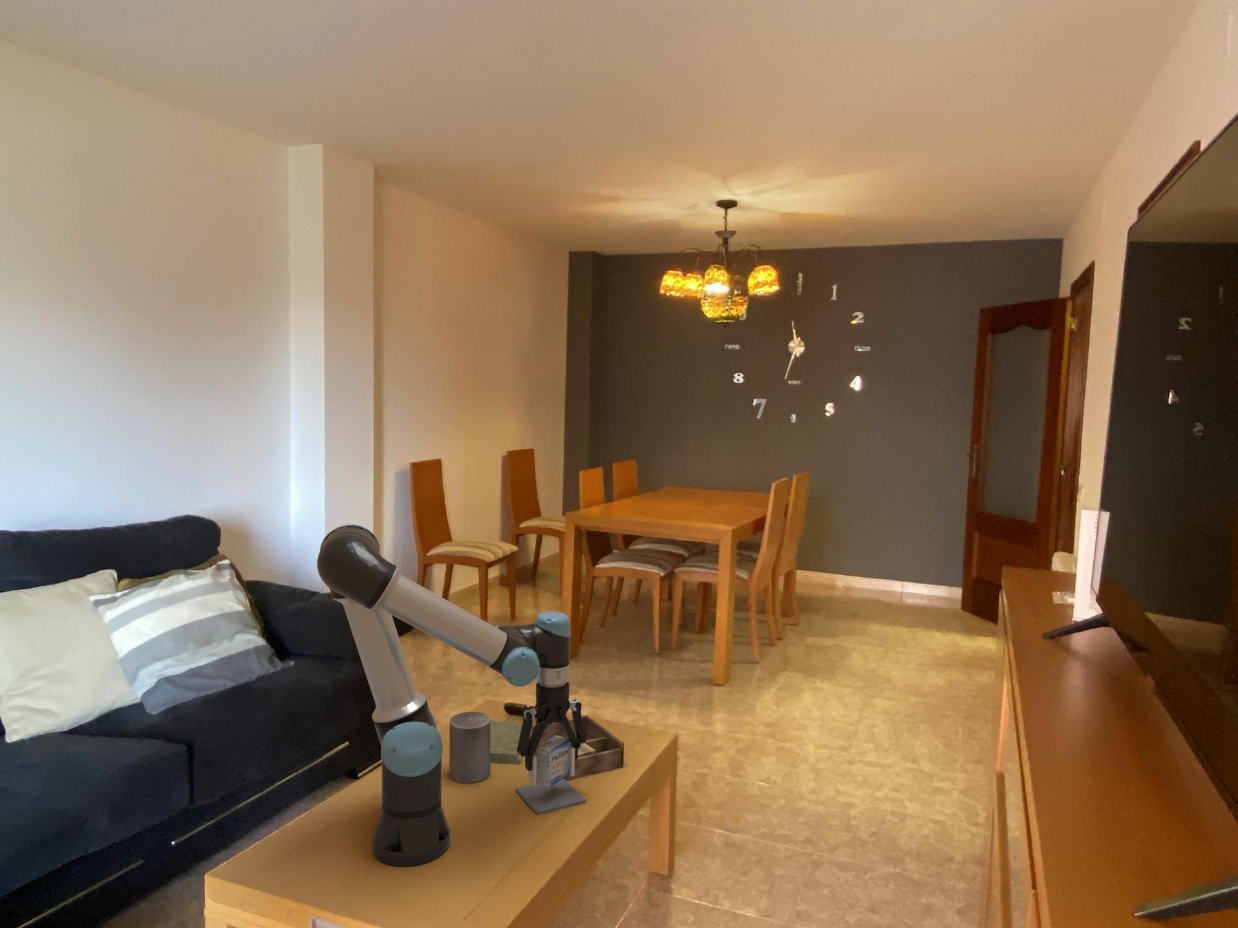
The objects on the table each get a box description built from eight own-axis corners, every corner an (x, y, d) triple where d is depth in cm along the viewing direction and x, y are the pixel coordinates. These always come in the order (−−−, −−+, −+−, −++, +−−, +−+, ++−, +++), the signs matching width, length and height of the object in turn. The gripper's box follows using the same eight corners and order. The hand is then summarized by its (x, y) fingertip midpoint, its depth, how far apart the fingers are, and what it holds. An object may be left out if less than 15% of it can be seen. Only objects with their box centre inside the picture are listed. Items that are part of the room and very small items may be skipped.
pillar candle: (460, 762, 206) (460, 703, 204) (497, 768, 203) (497, 708, 202) (441, 780, 196) (441, 719, 195) (480, 786, 194) (480, 724, 192)
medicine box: (549, 788, 185) (550, 750, 184) (533, 783, 187) (533, 746, 186) (569, 774, 192) (570, 738, 191) (553, 769, 194) (554, 733, 193)
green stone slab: (450, 761, 207) (451, 748, 207) (473, 729, 227) (473, 716, 227) (524, 767, 205) (525, 753, 205) (541, 734, 225) (541, 721, 225)
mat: (537, 814, 182) (537, 812, 182) (515, 790, 192) (515, 788, 192) (585, 802, 188) (586, 799, 188) (562, 779, 198) (562, 777, 198)
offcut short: (574, 765, 201) (574, 755, 201) (563, 758, 205) (564, 748, 205) (595, 759, 205) (595, 750, 205) (584, 752, 209) (584, 743, 208)
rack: (565, 780, 198) (565, 755, 197) (531, 748, 215) (531, 725, 214) (623, 766, 206) (624, 743, 205) (586, 736, 223) (587, 715, 222)
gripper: (514, 695, 179) (514, 796, 181) (602, 679, 190) (601, 774, 192) (501, 684, 185) (500, 781, 187) (587, 669, 196) (585, 761, 198)
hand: (551, 778), depth 190 cm, fingers closed on medicine box, 9 cm apart
